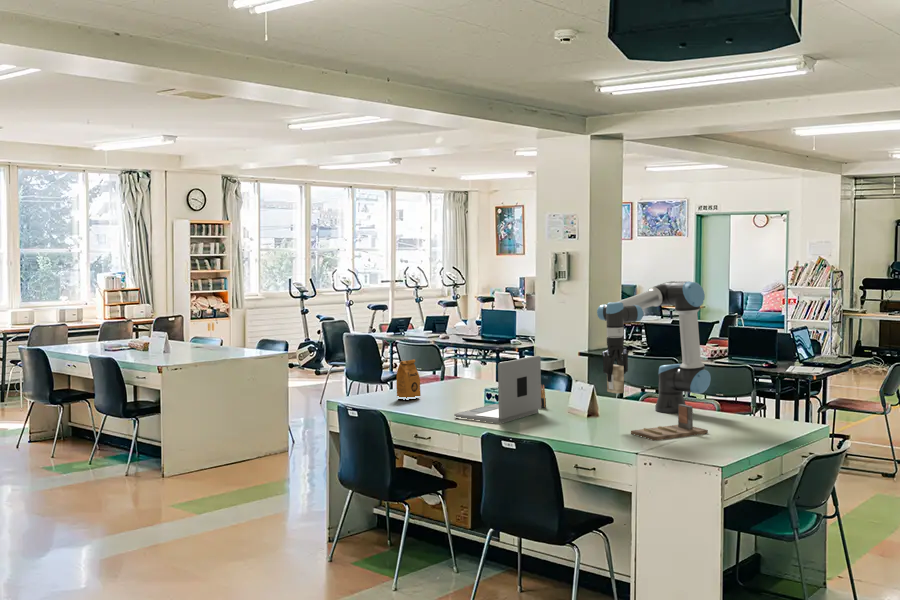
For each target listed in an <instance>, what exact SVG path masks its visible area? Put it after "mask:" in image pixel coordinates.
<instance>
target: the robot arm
mask: <svg viewBox="0 0 900 600" xmlns="http://www.w3.org/2000/svg"><path fill="white" fill-rule="evenodd" d="M704 301H705V291H704V288H703V286H701V285H700V283H699V282H696V281H689V280H687V281H675V280H674V281H666V282H663V283H660V284H657V285H655V286H652V287H649V288H648V290H647V291H644V292H641V293H638V294H636V295H635V294H634V295H633V296H630V297H627V298H624V299H621V300H618V301H615V302H613V301H609V302H607V303H605V304H601V305H598V307H597V310H596V314H597V318H598V319H599V320H601V321H606V346H607V348H606V349H605V351H602V352H601V355H602V364H603V365H602V370H603V371H602V372H603V374H604V375H605V374H606V382H607V381H608V382H609V389H614V377H613V375H612V371H613V365H615V360H616V363H617V364H616V365H620V366H624V375H625V374H626V373H627V372H628V371H629V353H630V350H628V349H625V348H624V344H625V342H624V341H625V339H624V336H625V335H624V333H625V332H624V330H625V329H624V327H625V326H624V324H625V323H637V322H640V321H641V320H642V319H643V318H644V310H645V309H648V308H650V307H659V306H674V311H675V312H676V313H677V314H678V318H679V319H678V321H679V333H680V334H679V335H680V347H681V359H682V363H673V364H672V363H671V364H663V365H660V366H659V368H658V373H657V375H658V396H657V400H656V404H655V407H654V408H655V409H654V410H655V411H656V412H658V413H666V414H678V405H680V404H683V405H687V404H686V401H685V398H684V392H685V393H691V394H703V393H705V392H706V391H707V390H708V388H709V387H710V384H711V380H712V379H711V373H710V372H709V371H708V370H707V369H705V364H704V363H703V362H702V360H701V358H702V357H701V347H700V346H701V345H700V332H699V318H698V313H699V311H700V310H701V306H702V305H703V304H704Z"/></svg>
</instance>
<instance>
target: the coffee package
mask: <svg viewBox="0 0 900 600" xmlns="http://www.w3.org/2000/svg"><path fill="white" fill-rule="evenodd" d="M415 363H416V359H409V360H401V361H400V362H399V364H398V367H397V371H396V385H395V386H396V397H397V396H399V397H406V398H407V397H415V396H421V397H422V395H421V378H420V374H419V371H418V370H417V367H416V364H415Z"/></svg>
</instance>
